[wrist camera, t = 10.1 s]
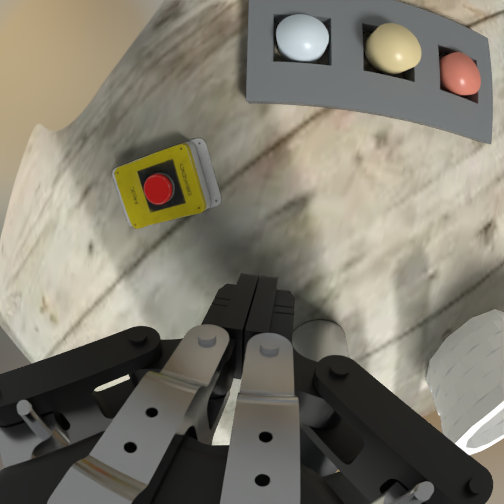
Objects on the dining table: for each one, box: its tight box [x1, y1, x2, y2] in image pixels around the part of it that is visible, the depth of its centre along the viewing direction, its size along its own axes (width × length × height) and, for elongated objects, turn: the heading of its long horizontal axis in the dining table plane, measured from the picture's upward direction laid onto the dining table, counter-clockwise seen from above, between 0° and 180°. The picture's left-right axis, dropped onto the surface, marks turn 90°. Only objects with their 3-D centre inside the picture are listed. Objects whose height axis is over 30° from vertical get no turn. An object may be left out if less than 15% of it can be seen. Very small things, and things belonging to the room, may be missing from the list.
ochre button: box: [364, 23, 421, 75], centre depth 22 cm, size 6×6×4 cm
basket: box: [426, 309, 504, 455], centre depth 33 cm, size 25×24×19 cm
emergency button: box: [112, 138, 221, 229], centre depth 35 cm, size 9×4×15 cm
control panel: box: [246, 0, 493, 144], centre depth 24 cm, size 32×16×3 cm, turn 89°
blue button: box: [276, 14, 329, 64], centre depth 24 cm, size 6×6×4 cm
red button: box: [439, 52, 481, 96], centre depth 22 cm, size 6×6×4 cm
